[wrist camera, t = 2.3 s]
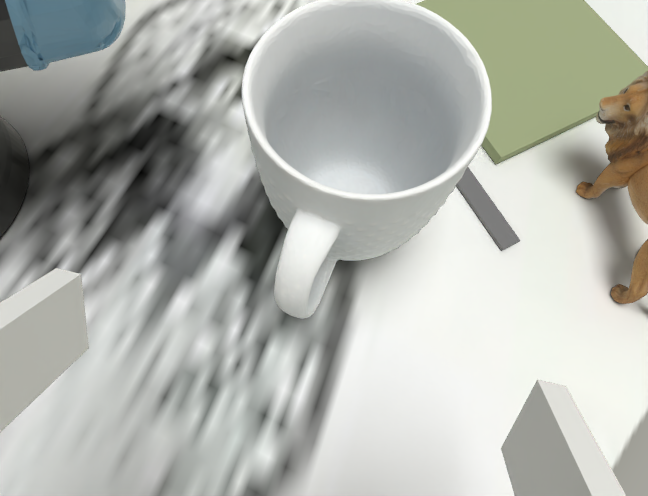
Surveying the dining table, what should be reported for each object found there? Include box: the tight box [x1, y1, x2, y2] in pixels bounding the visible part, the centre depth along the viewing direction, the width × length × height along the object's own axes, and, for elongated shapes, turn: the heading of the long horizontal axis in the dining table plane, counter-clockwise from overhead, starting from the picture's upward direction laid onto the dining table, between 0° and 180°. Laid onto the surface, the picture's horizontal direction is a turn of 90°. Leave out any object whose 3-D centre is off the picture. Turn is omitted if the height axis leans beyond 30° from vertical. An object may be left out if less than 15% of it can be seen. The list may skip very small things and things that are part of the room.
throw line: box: [456, 167, 520, 251], centre depth 32 cm, size 22×2×1 cm, turn 27°
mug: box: [242, 0, 492, 319], centre depth 23 cm, size 15×11×13 cm
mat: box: [416, 0, 648, 164], centre depth 34 cm, size 16×16×1 cm
